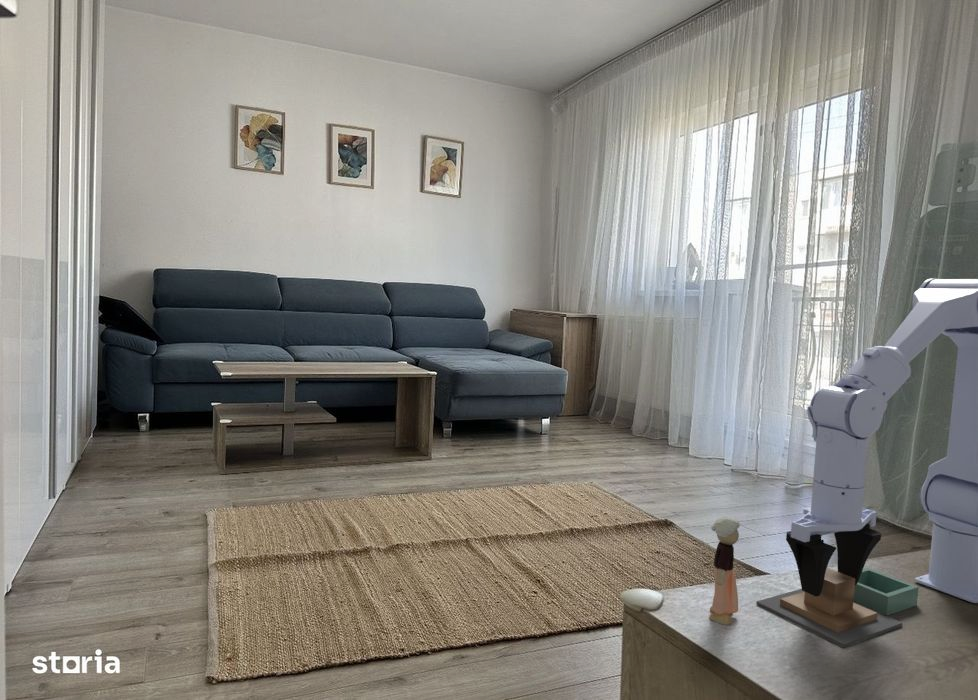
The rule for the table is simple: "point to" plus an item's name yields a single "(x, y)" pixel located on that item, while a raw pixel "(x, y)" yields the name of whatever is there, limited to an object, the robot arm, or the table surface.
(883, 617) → the mat
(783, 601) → the lid
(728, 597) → the grandmother figurine
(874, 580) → the green storage tray
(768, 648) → the table surface
